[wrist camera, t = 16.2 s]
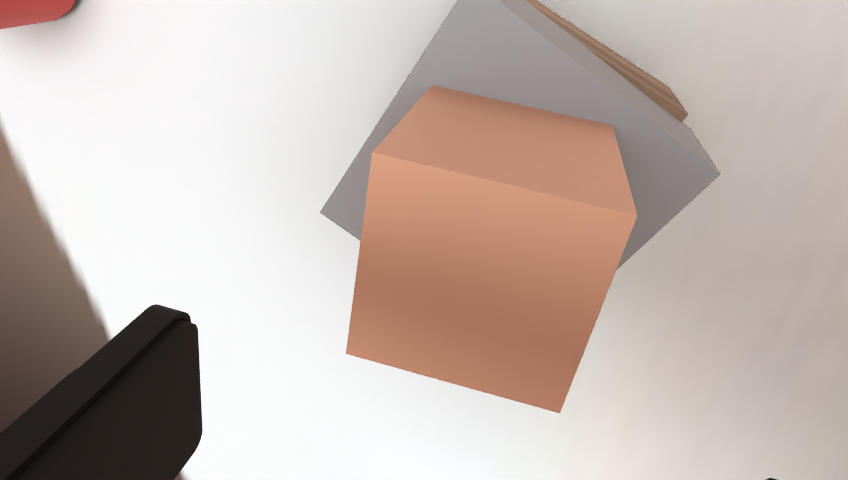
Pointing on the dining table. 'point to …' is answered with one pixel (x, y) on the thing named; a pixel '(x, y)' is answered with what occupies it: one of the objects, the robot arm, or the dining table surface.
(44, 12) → the beer can
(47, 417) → the robot arm
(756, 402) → the dining table surface
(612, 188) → the terracotta block
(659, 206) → the slate slab
